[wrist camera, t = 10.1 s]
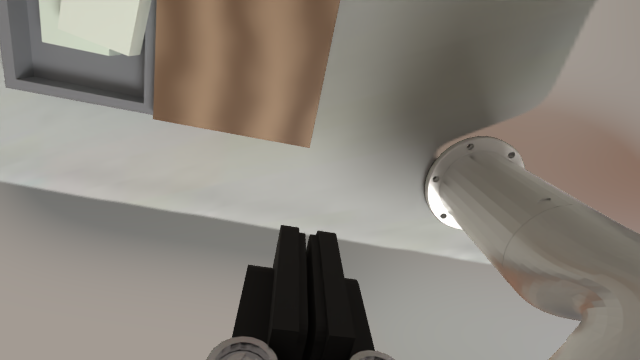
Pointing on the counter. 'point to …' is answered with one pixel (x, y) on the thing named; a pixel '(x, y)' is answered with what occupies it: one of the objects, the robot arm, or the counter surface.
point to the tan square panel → (243, 65)
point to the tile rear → (53, 35)
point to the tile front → (107, 22)
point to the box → (74, 63)
